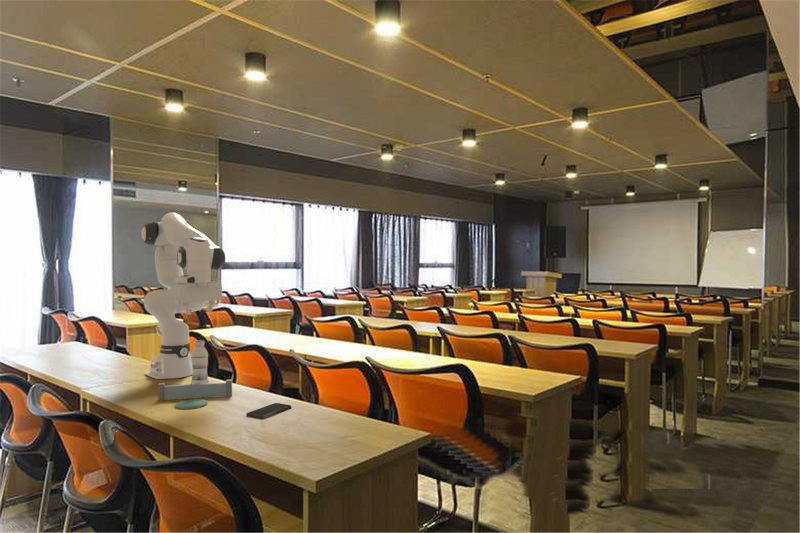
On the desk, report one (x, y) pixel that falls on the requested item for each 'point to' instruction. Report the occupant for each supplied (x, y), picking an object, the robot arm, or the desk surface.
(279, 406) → the phone
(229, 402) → the desk surface
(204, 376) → the plastic bottle
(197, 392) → the low wall
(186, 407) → the mat
